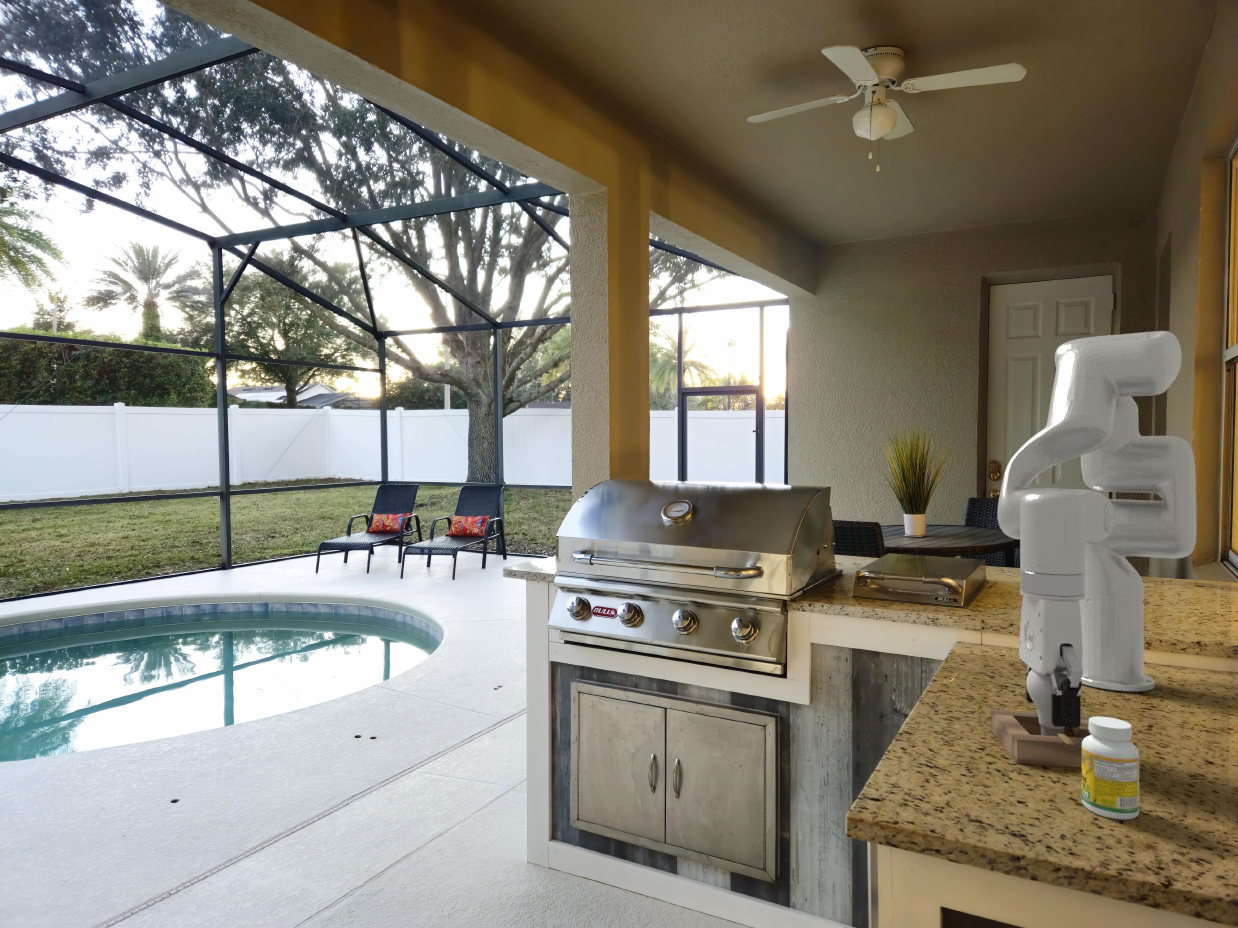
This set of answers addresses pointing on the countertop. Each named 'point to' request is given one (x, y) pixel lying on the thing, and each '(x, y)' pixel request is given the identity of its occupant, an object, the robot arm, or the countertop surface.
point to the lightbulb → (1043, 701)
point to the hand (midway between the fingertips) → (1051, 713)
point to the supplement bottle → (1110, 769)
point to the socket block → (1038, 739)
